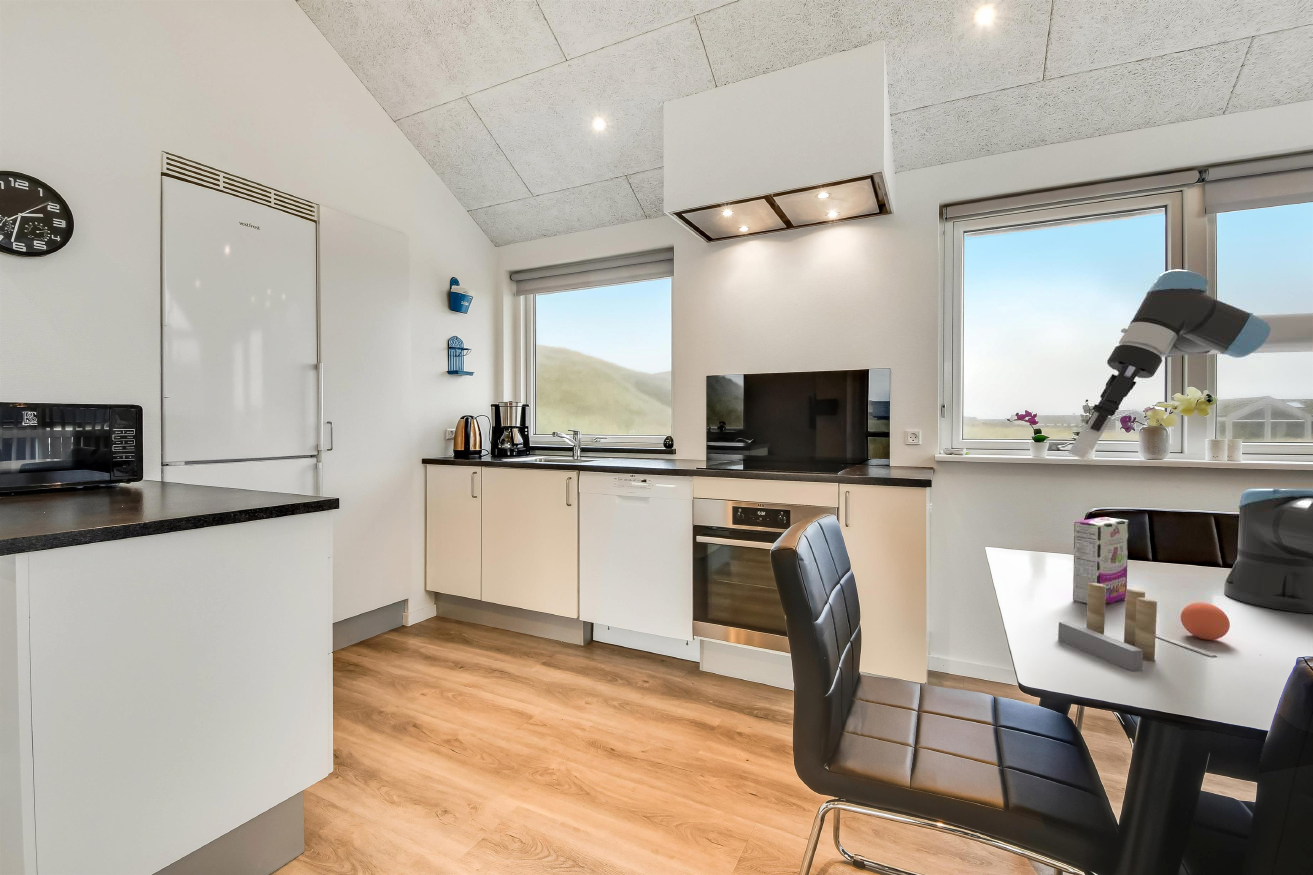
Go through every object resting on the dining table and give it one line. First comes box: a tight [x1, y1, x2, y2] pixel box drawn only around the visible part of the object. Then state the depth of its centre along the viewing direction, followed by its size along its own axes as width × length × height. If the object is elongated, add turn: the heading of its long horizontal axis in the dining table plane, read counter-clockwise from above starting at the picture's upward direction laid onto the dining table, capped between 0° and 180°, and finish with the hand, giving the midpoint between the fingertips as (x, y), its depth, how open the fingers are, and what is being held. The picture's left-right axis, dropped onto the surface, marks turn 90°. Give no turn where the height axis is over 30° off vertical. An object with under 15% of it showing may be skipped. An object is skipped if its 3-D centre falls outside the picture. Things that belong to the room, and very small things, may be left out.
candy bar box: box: [1072, 516, 1129, 606], centre depth 117 cm, size 11×5×16 cm, turn 117°
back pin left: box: [1135, 597, 1158, 662], centre depth 89 cm, size 2×2×9 cm
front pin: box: [1123, 588, 1146, 647], centre depth 94 cm, size 2×2×9 cm
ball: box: [1180, 602, 1231, 641], centre depth 97 cm, size 6×6×6 cm
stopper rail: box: [1057, 620, 1144, 672], centre depth 90 cm, size 2×12×3 cm, turn 12°
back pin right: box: [1085, 583, 1106, 635], centre depth 97 cm, size 2×2×9 cm
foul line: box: [1156, 633, 1217, 658], centre depth 96 cm, size 1×12×1 cm, turn 13°
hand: (1079, 451), depth 110 cm, fingers open, 13 cm apart
